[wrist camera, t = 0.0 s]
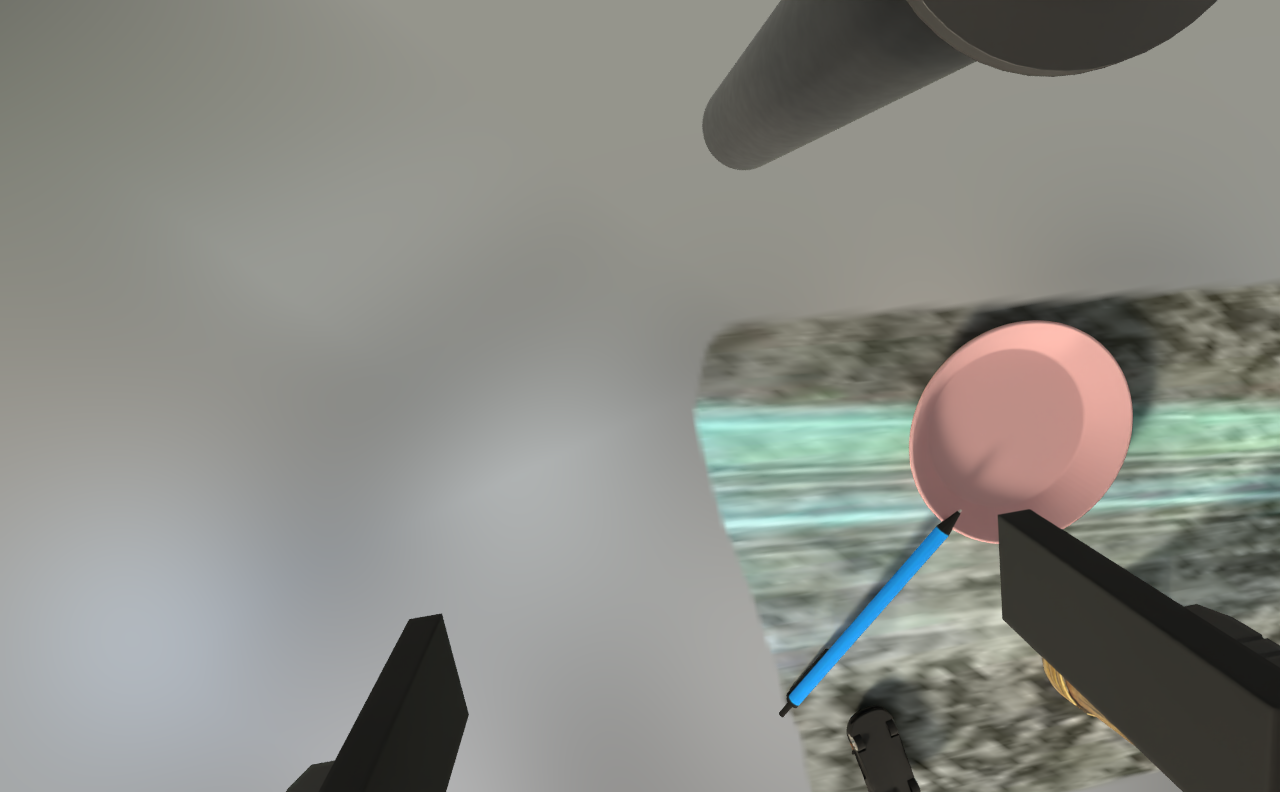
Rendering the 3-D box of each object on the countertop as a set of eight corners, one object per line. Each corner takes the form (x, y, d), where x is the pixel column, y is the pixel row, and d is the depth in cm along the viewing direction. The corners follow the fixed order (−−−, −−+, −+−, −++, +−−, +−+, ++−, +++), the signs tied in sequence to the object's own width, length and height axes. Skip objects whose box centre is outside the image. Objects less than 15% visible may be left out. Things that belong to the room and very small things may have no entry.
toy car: (890, 704, 46) (876, 689, 48) (846, 725, 46) (833, 709, 48) (929, 807, 47) (913, 788, 49) (885, 828, 46) (871, 808, 48)
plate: (860, 493, 43) (872, 504, 41) (955, 284, 41) (973, 285, 39) (1047, 558, 45) (1067, 572, 43) (1148, 362, 43) (1174, 367, 41)
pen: (788, 721, 47) (781, 707, 48) (970, 516, 41) (958, 505, 42) (779, 719, 46) (772, 705, 47) (961, 511, 41) (949, 501, 42)
